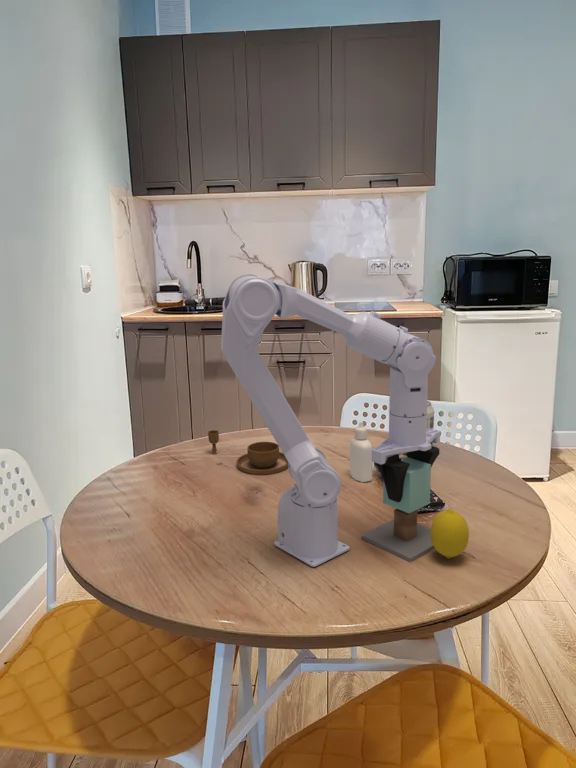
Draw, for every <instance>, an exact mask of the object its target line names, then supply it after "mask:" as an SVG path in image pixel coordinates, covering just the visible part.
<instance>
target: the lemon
mask: <svg viewBox="0 0 576 768" xmlns="http://www.w3.org/2000/svg"><path fill="white" fill-rule="evenodd" d="M430 529H431V541H432V544H433V546H434V549H435V551H437V552H438V553H439V554H440V555H441V556H444V557H445V558H446V559H452V558H453V557H457V556H459V555H461V554H462V553H463V552H464V551H465V550H466V548H467V547H468V545H469V544H468V543H469V537H470V532H469V527H468V523H467V520H466V519H465V517H464V516H463V515H462V514H461V513H460V512H458V511H456V510H454V509H452V508H449V509H445V510H442V511H440V512H438V513H437V514H436V515H435V516H434V519H433V520H432V524H431V527H430Z"/></svg>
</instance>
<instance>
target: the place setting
mask: <svg viewBox="0 0 576 768" xmlns="http://www.w3.org/2000/svg"><path fill="white" fill-rule="evenodd" d="M207 436H208V442H209V443H210V444H212V448H211V451H212V453H211V455H218V453H217V450H218V449H217V447H216V445H217V443H219V441H220V437H219V436H220V433H219V430H214V429H213V430H209V431H208V432H207ZM246 450H247V453H245V454H241V456H239V457H238V458H237V459H236V466H237V468H238V469H239V470H240V471H242V472H243V473H246V474H250V475H255V476H256V475H258V476H262V475H263V476H265V475H266V476H267V475H274V474H277V473H281V472H284V471H286V470H287V469H289V465H288V460H287V459H286V457H285V455H284V454H283V452H282V451H280V447H279V445H278V444H277V442H272V441H257V442H254V443H251V444H249V445H248V446H247V448H246ZM278 460H282V461H283V462H285V464H284V465H282V466H278V467H275V468H270V467H272V466H273V465H274V464H275V463H277V462H278ZM247 461H249V462H250V463H251V464H253V465H254V466H255V467H256V468H258V469H254V468H247V467H244V466H242V465H243V464H244V463H245V462H247ZM222 464H223V462H222V461H220V462H218V463H216V465H217V466H221V465H222Z"/></svg>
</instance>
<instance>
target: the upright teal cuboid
mask: <svg viewBox="0 0 576 768" xmlns="http://www.w3.org/2000/svg"><path fill="white" fill-rule="evenodd" d="M400 458H401V461H403V462H407V463H409V464H410V465H409V467H408V469H407V472H406V475H405V479H404V485H403V495H402V499H401V501H400V502H395V501H393V500H390V499H388V495H387V491H386V487H385V483H384V480H383V479H382V483H383V485H382V489H383V490H382V503H383V504H385V505H387V506H390V507H392V508H394V509H399V510H402V511H404V512H407V513H411V512H413V511H415V510H417V511H418V510H420V509H421V508H423V507H426V506H427V505H430V500H431V475H432V472H431V471H432V467H431V464H428V463H425V462H422V461H418V460H415V459H412V458H409V457H407V455H406V456H405V455H404V456H402V457H399V459H400Z"/></svg>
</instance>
